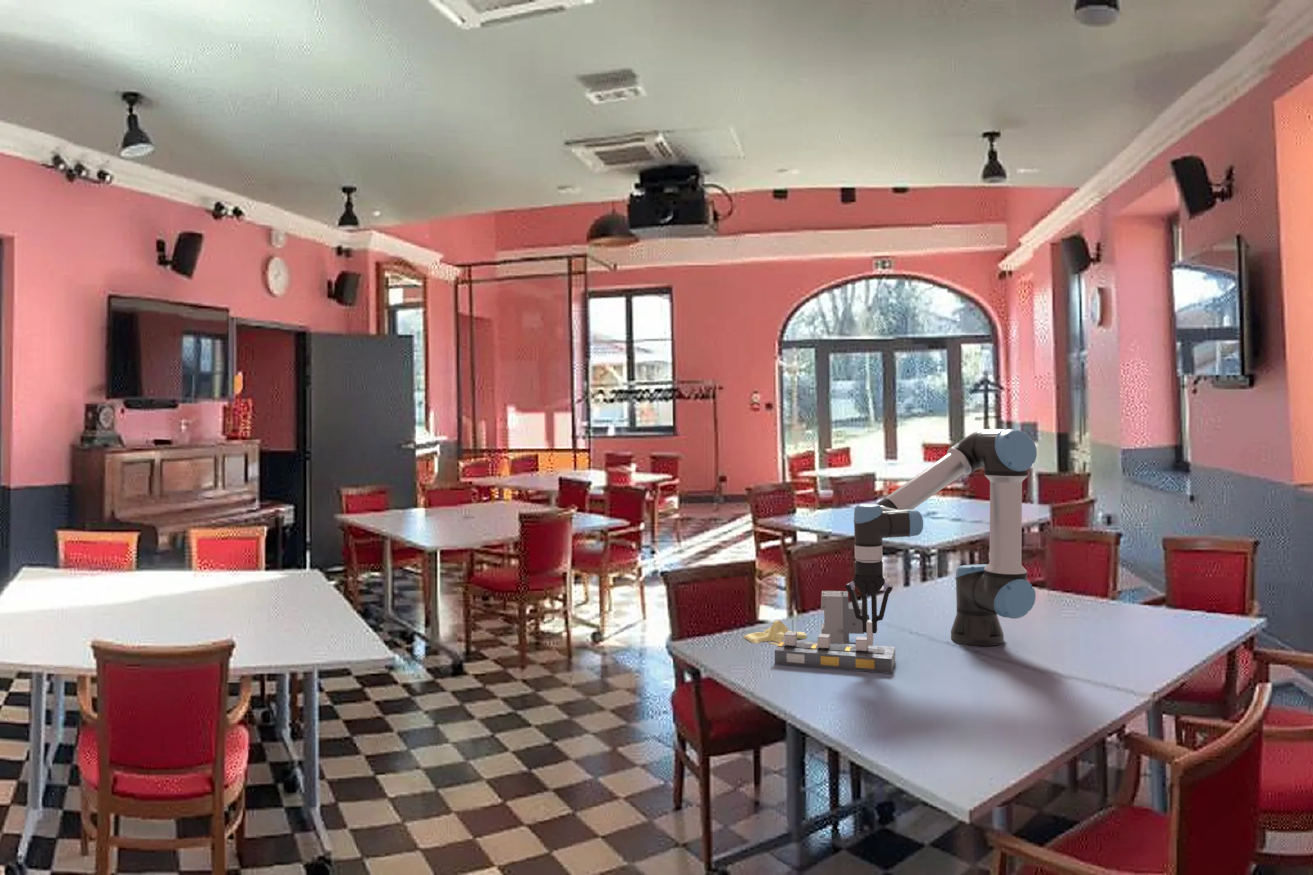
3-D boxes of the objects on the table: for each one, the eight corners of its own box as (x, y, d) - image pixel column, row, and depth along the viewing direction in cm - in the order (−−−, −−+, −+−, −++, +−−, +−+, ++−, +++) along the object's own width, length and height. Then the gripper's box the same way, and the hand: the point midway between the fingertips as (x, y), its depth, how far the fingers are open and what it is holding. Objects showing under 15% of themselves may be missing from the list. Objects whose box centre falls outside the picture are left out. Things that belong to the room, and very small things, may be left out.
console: (895, 661, 239) (895, 646, 239) (891, 674, 227) (891, 658, 227) (783, 652, 250) (783, 638, 250) (774, 664, 238) (774, 649, 238)
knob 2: (830, 644, 241) (830, 634, 241) (828, 648, 237) (828, 637, 237) (819, 644, 242) (819, 633, 242) (817, 647, 238) (817, 636, 238)
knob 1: (797, 642, 244) (797, 632, 244) (794, 645, 241) (794, 635, 240) (786, 641, 245) (786, 631, 245) (784, 645, 242) (784, 634, 241)
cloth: (734, 642, 264) (734, 622, 264) (764, 629, 279) (764, 610, 279) (798, 653, 251) (797, 632, 251) (826, 638, 266) (825, 619, 265)
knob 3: (868, 647, 237) (868, 636, 237) (866, 651, 234) (866, 640, 234) (857, 646, 238) (857, 636, 238) (855, 650, 235) (855, 639, 235)
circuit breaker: (869, 646, 254) (869, 596, 254) (821, 644, 257) (820, 596, 256) (868, 639, 261) (867, 591, 261) (821, 638, 264) (821, 590, 264)
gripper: (894, 558, 236) (895, 642, 236) (846, 557, 240) (848, 639, 241) (891, 563, 229) (893, 649, 229) (843, 561, 233) (844, 646, 234)
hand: (870, 644), depth 235 cm, fingers closed
